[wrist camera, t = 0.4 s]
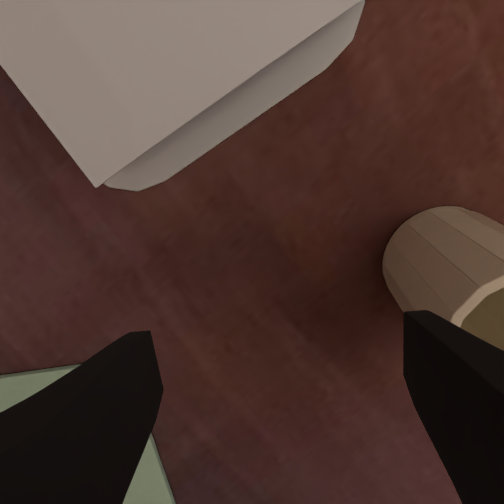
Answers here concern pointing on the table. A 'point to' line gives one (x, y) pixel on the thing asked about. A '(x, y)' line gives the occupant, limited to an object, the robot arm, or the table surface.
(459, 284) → the cup
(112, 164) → the grey flat block
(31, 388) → the mat
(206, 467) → the table surface
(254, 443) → the table surface
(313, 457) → the table surface
